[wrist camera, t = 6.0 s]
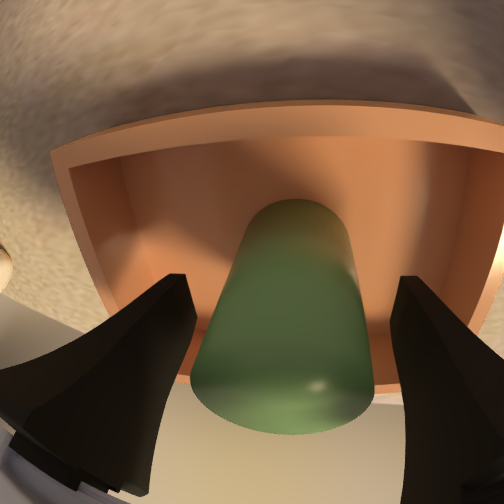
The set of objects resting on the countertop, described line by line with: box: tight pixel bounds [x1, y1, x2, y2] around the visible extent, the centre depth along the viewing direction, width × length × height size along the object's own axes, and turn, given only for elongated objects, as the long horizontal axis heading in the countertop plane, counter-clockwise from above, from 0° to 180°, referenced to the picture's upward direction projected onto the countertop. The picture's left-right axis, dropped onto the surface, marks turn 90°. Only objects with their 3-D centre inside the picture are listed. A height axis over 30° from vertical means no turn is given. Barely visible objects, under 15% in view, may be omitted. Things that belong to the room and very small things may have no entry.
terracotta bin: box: [49, 99, 504, 394], centre depth 11 cm, size 16×12×4 cm
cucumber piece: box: [190, 199, 375, 435], centre depth 9 cm, size 4×4×7 cm
